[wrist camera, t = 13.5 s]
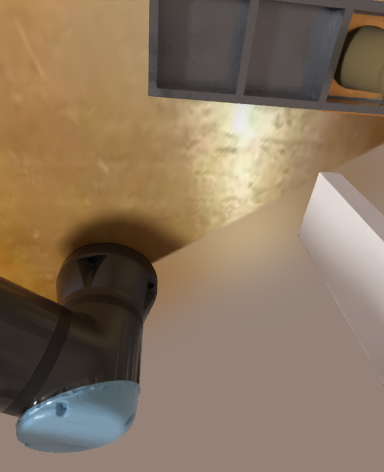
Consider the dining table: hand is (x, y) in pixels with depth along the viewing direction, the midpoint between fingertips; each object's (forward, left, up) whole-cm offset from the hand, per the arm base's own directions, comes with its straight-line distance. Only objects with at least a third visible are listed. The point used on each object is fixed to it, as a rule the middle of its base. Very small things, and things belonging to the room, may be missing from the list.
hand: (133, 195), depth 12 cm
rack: (+9, -10, -29) cm, 32 cm away
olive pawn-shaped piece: (+13, -17, -28) cm, 35 cm away
